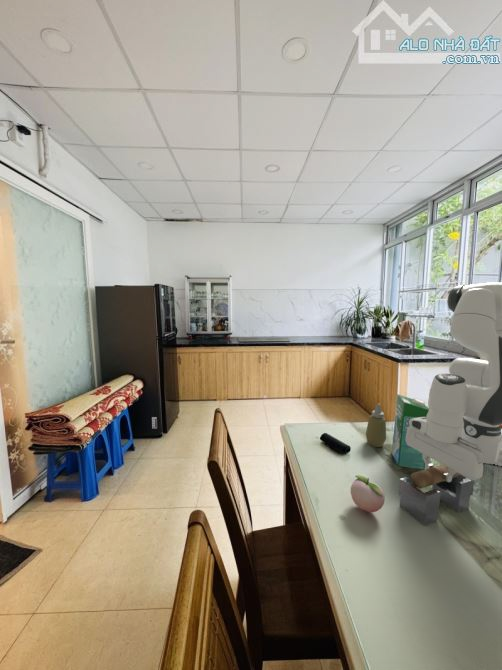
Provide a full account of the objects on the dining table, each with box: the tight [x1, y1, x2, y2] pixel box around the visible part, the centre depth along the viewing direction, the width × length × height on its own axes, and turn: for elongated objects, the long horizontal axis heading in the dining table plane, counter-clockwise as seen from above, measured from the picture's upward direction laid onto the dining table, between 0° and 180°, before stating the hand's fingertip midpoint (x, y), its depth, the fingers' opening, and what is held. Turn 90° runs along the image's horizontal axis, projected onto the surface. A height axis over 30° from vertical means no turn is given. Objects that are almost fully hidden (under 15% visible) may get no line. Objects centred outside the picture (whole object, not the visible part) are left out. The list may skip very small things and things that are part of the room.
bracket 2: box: [431, 475, 475, 513], centre depth 84 cm, size 6×8×9 cm
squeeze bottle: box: [365, 403, 387, 448], centre depth 117 cm, size 8×8×18 cm
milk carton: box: [391, 394, 429, 470], centre depth 104 cm, size 9×9×25 cm
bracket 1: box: [398, 475, 441, 527], centre depth 79 cm, size 6×8×9 cm
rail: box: [410, 464, 461, 489], centre depth 80 cm, size 17×4×4 cm
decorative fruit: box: [350, 474, 386, 513], centre depth 79 cm, size 9×8×10 cm
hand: (437, 474), depth 81 cm, fingers closed on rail, 4 cm apart
